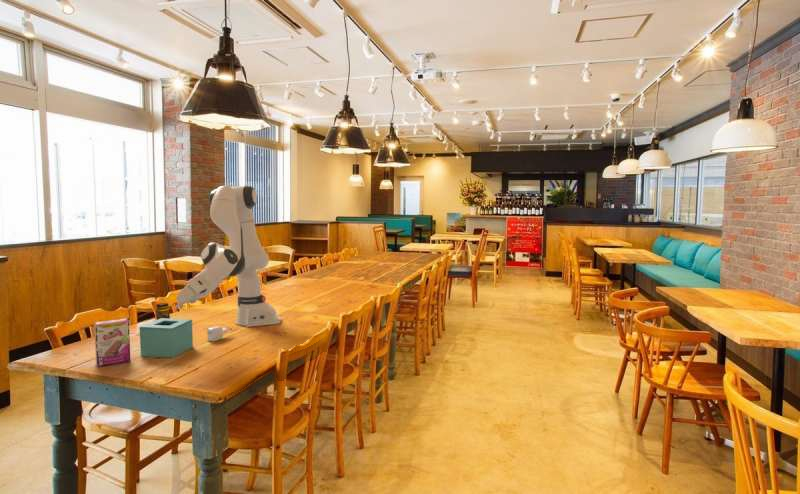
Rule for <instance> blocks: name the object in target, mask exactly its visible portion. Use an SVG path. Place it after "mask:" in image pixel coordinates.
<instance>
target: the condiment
mask: <svg viewBox="0 0 800 494" xmlns="http://www.w3.org/2000/svg"><path fill="white" fill-rule="evenodd" d="M170 313H171V311H170V308H169V302H158V303H156V309H155V316H156V318H155V321H156V320H158V319H161V318H169V319H171V314H170Z"/></svg>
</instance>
